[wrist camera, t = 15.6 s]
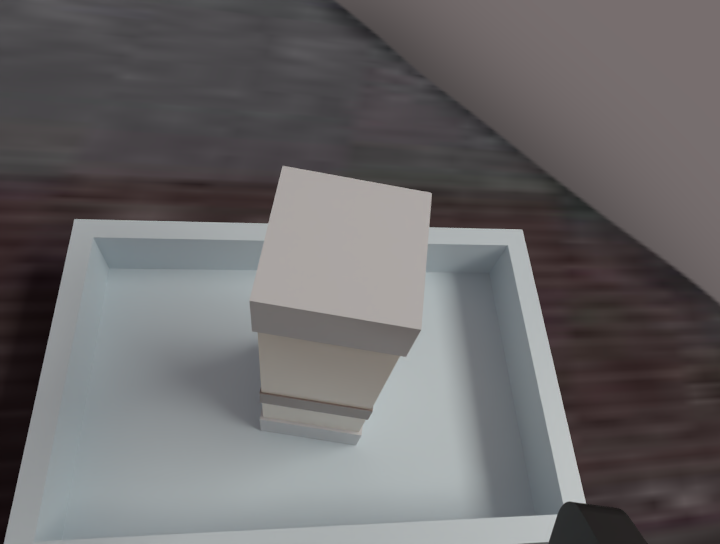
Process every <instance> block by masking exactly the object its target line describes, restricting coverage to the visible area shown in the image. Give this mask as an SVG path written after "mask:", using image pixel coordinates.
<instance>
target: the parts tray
mask: <svg viewBox="0 0 720 544" xmlns="http://www.w3.org/2000/svg"><path fill="white" fill-rule="evenodd" d="M267 227H268V224H260V223H217V222H174V221H132V220H89V219H74V224H73V229H72V233H71V238H70V242H69V247H68V252H67V256H66V261H65V265H64V270H63V274H62V279H61V284H60V288H59V293H58V297H57V302H56V307H55V311H54V316H53V320H52V325H51V329H50V334H49V339H48V343H47V348H46V352H45V357H44V362H43V366H42V371H41V375H40V380H39V385H38V389H37V394H36V398H35V403H34V407H33V412H32V417H31V421H30V426H29V430H28V435H27V440H26V444H25V449H24V453H23V458H22V462H21V467H20V472H19V476H18V481H17V485H16V490H15V495H14V499H13V504H12V508H11V513H10V517H9V522H8V527H7V531H6V536H5V540H4V544H548V543H549V540H550V536H551V533H552V530H553V527H554V524H555V521H556V517H557V514H558V512H559V510H560V508H561V506H562V505H563V504H564V503H566V502H569V501H570V502H577V503H584V504H586V502H585V498H584V493H583V489H582V485H581V480H580V476H579V472H578V467H577V463H576V459H575V454H574V450H573V446H572V442H571V437H570V433H569V429H568V424H567V420H566V416H565V411H564V407H563V403H562V398H561V394H560V390H559V385H558V381H557V377H556V373H555V368H554V364H553V360H552V355H551V351H550V347H549V342H548V338H547V334H546V329H545V325H544V321H543V317H542V312H541V308H540V304H539V299H538V295H537V291H536V286H535V282H534V278H533V273H532V269H531V265H530V260H529V256H528V252H527V248H526V243H525V239H524V235H523V230H516V229H473V228H430V227H429V236H428V249H427V262H426V275H425V288H424V301H423V315H422V328H421V331H420V333H419V335H418V337H417V338H416V340H415V342H414V344H413V345H412V347H411V349H410V351H409V353H408V354H407V356H406V357H403V356H400V357H399V359H398V361H397V363H396V365H395V366H394V368H393V370H392V372H391V374H390V376H389V378H388V379H387V381H386V383H385V385H384V387H383V389H382V391H381V392H380V394H379V396H378V398H377V400H376V402H375V404H374V405H373V412H372V414H371V415H370V417H369V419H368V420H365V422H364V424H363V427H362V436H361V437H360V439H359V441H358V443H357V444H356V445H350V444H343V443H337V442H331V441H324V440H318V439H312V438H305V437H299V436H293V435H286V434H280V433H273V432H267V431H261V430H260V415H261V411H262V403H260V394H259V393H260V389H261V378H260V362H259V347H258V332H253V331H252V326H251V314H250V303H249V300H250V296H251V292H252V288H253V284H254V280H255V276H256V272H257V268H258V264H259V260H260V256H261V252H262V248H263V243H264V239H265V235H266V231H267Z"/></svg>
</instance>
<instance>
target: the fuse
mask: <svg viewBox="0 0 720 544" xmlns="http://www.w3.org/2000/svg"><path fill="white" fill-rule="evenodd" d="M431 196H432V193H429V192H423V191H418V190H412V189H407V188H401V187H396V186H390V185H385V184H379V183H374V182H368V181H363V180H357V179H352V178H346V177H341V176H335V175H330V174H324V173H319V172H313V171H308V170H302V169H297V168H292V167H286V166H283V167H282V171H281V175H280V179H279V183H278V187H277V191H276V195H275V199H274V203H273V207H272V211H271V215H270V219H269V223H268V227H267V231H266V235H265V239H264V243H263V248H262V252H261V256H260V260H259V264H258V268H257V272H256V276H255V280H254V284H253V288H252V292H251V296H250V300H249V303H250V314H251V326H252V331H253V332H258V347H259V362H260V378H261V389H260V393H259V394H260V403H262V411H261V415H260V430H261V431H267V432H273V433H280V434H286V435H293V436H299V437H305V438H312V439H318V440H324V441H331V442H337V443H343V444H350V445H356V444H357V443H358V441H359V439H360V437H361V436H362V427H363V424H364V422H365V420H368V419H369V417H370V415H371V414H372V412H373V405H374V404H375V402H376V400H377V398H378V396H379V394H380V392H381V391H382V389H383V387H384V385H385V383H386V381H387V379H388V378H389V376H390V374H391V372H392V370H393V368H394V366H395V365H396V363H397V361H398V359H399V357H400V356H403V357H406V356H407V354H408V353H409V351H410V349H411V347H412V345H413V344H414V342H415V340H416V338H417V337H418V335H419V333H420V331H421V328H422V315H423V301H424V288H425V275H426V262H427V249H428V236H429V222H430V209H431Z"/></svg>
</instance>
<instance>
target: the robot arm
mask: <svg viewBox="0 0 720 544" xmlns="http://www.w3.org/2000/svg"><path fill="white" fill-rule="evenodd" d="M548 544H647V542H646V541H645V539H644V538H643V536H642V535H641V534H640V532H639V531H638V529H637V528H636V526H635V525H634V524H633V522H632V521H631V519H630V518H629V516H628V515H627V514H626V513H625V512H624V511H623V510H621V509H619V508H613V507H605V506H598V505H591V504H584V503H577V502H570V501H569V502H566V503H564V504H563V505H562V506H561V508H560V510H559V512H558V514H557V517H556V521H555V524H554V527H553V530H552V533H551V536H550V540H549V543H548Z"/></svg>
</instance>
